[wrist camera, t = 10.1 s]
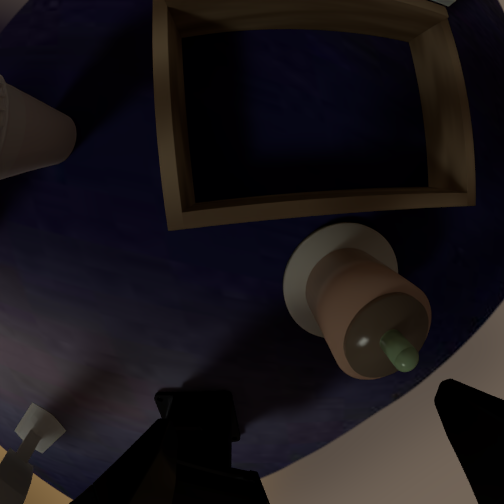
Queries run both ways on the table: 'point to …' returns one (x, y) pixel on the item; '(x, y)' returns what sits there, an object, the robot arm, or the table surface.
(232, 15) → the open wooden box frame
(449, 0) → the grey angled plate
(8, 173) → the smoothie
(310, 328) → the cream round disc
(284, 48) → the table surface
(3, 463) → the heart sculpture
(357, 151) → the table surface
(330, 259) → the clay pot
